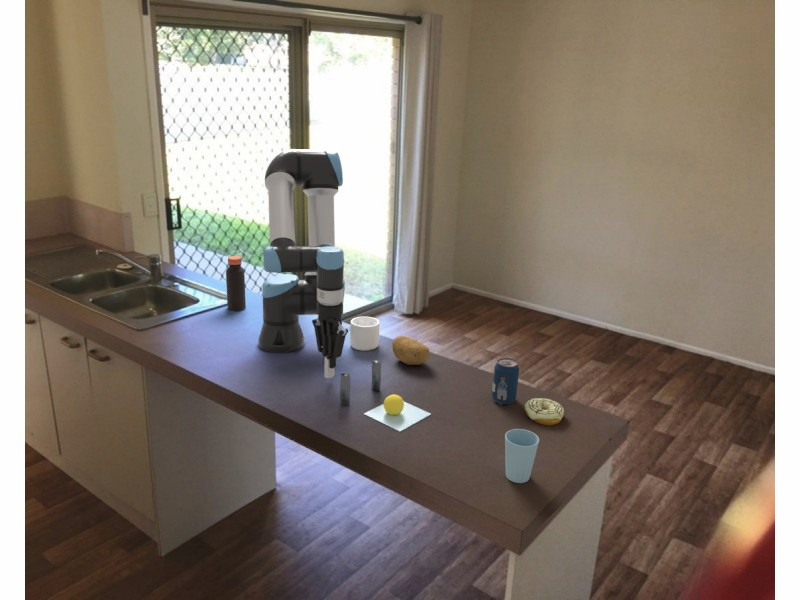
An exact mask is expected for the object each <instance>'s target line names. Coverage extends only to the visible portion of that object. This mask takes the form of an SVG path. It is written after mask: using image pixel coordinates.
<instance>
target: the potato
mask: <svg viewBox="0 0 800 600" xmlns="http://www.w3.org/2000/svg"><path fill="white" fill-rule="evenodd" d="M391 344H392V346H391V347H392V352H393V354H394V356H395V358H396V359H397V360H399V361H401V362H402V363H404V364H406V365H409V366H417V365H418V366H420V365H422V364H424V363H425V362H428V360H430V357H431V352H430V349H429V347H428V346H427V345H426V344H424V343H422V342H420V341H418V340H417V339H414V338H412V337H410V336H406V335H400V336H396V337H395V338H394V339H392V343H391Z"/></svg>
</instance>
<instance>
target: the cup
mask: <svg viewBox="0 0 800 600" xmlns="http://www.w3.org/2000/svg"><path fill="white" fill-rule="evenodd" d="M539 444H540V438H539V436H538V435H537V434H536V433H534V432H533V431H531V430H528V429H523V428H513V429H510V430H508V431H506V433H505V434H504V445H505V446H504V447H505V448H504V449H505V453H504V454H505V455H504V456H505V457H504V458H505V459H504V461H505V476H506V478H507V479H508V480H509V481H511V482H513V483H516V484H524V483H526V482H528V481H529V480H530V478H531V473H532V471H533V466H534V462H535V459H536V455H537V450H538V447H539Z"/></svg>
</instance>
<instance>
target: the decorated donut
mask: <svg viewBox="0 0 800 600" xmlns="http://www.w3.org/2000/svg"><path fill="white" fill-rule="evenodd" d="M524 410H525V413H526V416H528V417H529V419H530V420H532V421H534V422H535V423H536V424H540V425H544V426H554V425H557V424H559V423H560V422H561V421H562V419H563V417H564V415H565V410H564V407H563V406H562V404H560V403H559V402H557V401H556V400H552V399H550V398H544V397H543V398H542V397H541V398H539V397H537V398H531V399H529V400H528V401H526V403H525V404H524Z"/></svg>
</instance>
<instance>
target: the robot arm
mask: <svg viewBox="0 0 800 600" xmlns="http://www.w3.org/2000/svg"><path fill="white" fill-rule="evenodd" d="M343 183H344V178H343V167H342V162H341V158H340V154H339V153H338V151H335V150H333V149H331V150H330V149H324V148H323V149H321V148H320V149H314V148H313V149H308V148H306V149H302V148H301V149H298V148H297V149H296V148H291V149H290V148H289V149H285V150H284V151H282V152H280V153H279V154H277V155H276V156H275V157H274V158H273V159H272V160H271V161H270V163H269V164H268V166H267V168H266V171H265V174H264V186H265V189H266V190H267V192H268V225H269V246H265V247H263V249H262V250H263V251H262V253H263V270H264V272H266V273H276V274H277V275H273V276H271V277H268V278H267V279H266V280H264V282H263V283H262V291H261V292H262V293H261V297H262V321H263V322H262V326H261V330H260V333H259V335H258V341H257V343H258V347H259V349H261V350H262V351H265V352H269V353H276V354H279V353H282V354H283V353H291V352H296V351H297V350H301V348H303V347H304V345H305V336H304V334H303V333H304V332H303V330H302V328H301V325H300V321H299V320H300V316H317V318H315V319H312V321H311V323H312V326H313V327H314V328H313V329H314V333H315V334H314V335H315V340H316V346H317V351H318V353H321V355H322V356H323V358H322V360H323V361H322V363H323V367H324V369H323V370H324V371H323V372H324V375H323V376H324V378H325V379H328V380H329V379H330V378H333V377H335V369H336V367H337V358H339V357H341V356H342V353H343V349H344V345H345V340H346V336H347V334H348V333H349V328H345V327H344V326H343V321H342V316H343V314H344V300H345V299H344V298H345V291H346V290H345V289H346V287H345V286H346V282H345V279H344V274H345V273H344V272H345V271H344V268H345V267H344V265H345V257H344V256H345V255H344V254H345V253H344V250H343V249H342V248H341V247H338V246H336V243H335V242H336V239H335V195H337V193H338V192H339V187H342V186H343ZM296 186H299V187H301V186H302V192H303V193H304V194H305V195H306V196H307V219H308V223H307V224H308V225H307V227H308V245H307V246H300V245H299V246H298V245H297V246H296V230H295V229H296V228H295V212H294V210H295V209H294V208H295V207H294V189H296ZM281 273H282V274H281ZM285 273H286V274H285ZM291 273H304V279H300V278H299V276H298V275H296V274H291Z"/></svg>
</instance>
